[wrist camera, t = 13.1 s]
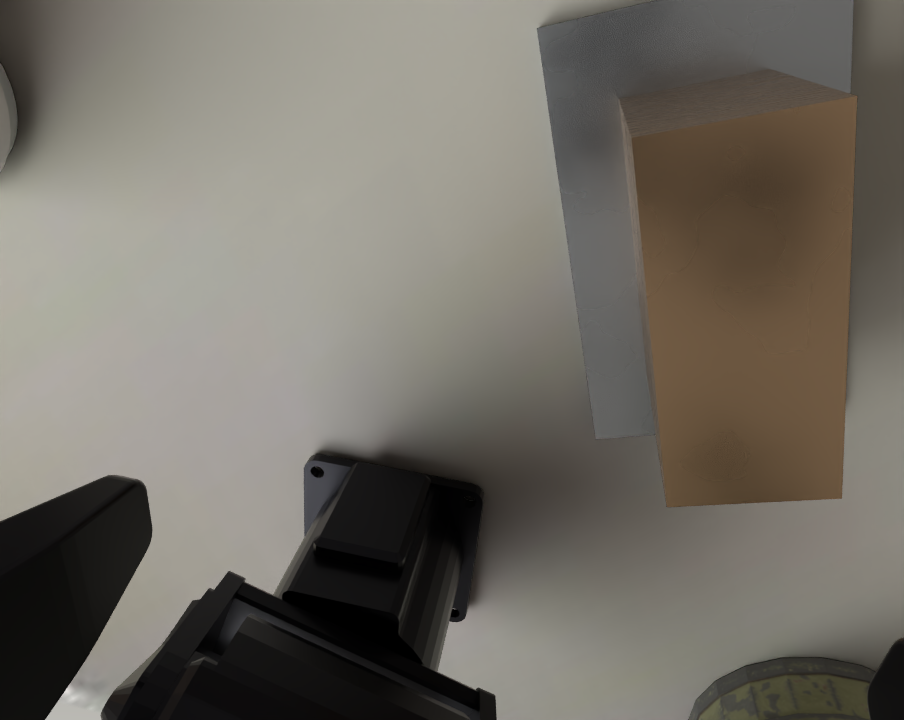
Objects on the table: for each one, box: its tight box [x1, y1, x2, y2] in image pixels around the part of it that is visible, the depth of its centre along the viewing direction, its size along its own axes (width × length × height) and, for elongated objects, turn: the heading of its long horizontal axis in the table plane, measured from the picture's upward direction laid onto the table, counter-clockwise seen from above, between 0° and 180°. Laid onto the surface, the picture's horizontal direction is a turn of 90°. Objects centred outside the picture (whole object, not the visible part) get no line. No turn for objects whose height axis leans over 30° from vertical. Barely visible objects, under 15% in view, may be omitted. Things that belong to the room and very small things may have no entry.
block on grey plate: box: [537, 0, 857, 507], centre depth 16 cm, size 12×7×7 cm, turn 12°
